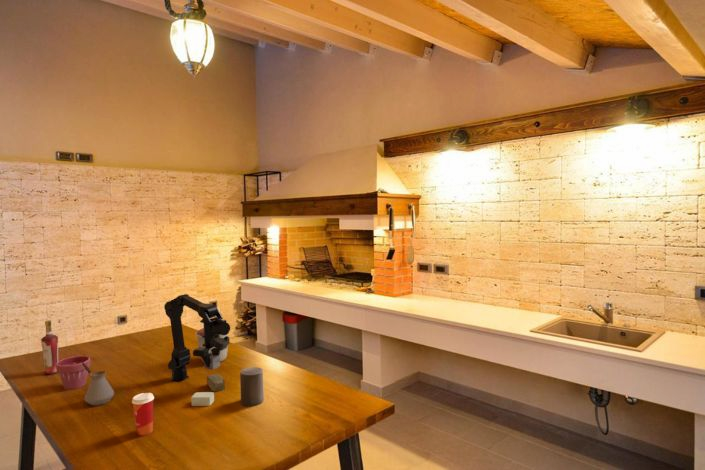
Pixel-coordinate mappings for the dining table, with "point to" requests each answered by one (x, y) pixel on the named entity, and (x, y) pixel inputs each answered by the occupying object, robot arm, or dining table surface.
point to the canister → (222, 353)
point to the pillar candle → (251, 386)
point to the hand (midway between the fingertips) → (212, 365)
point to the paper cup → (143, 413)
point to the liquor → (50, 349)
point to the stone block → (216, 382)
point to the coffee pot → (98, 388)
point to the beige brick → (202, 399)
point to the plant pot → (73, 371)
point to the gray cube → (213, 362)
